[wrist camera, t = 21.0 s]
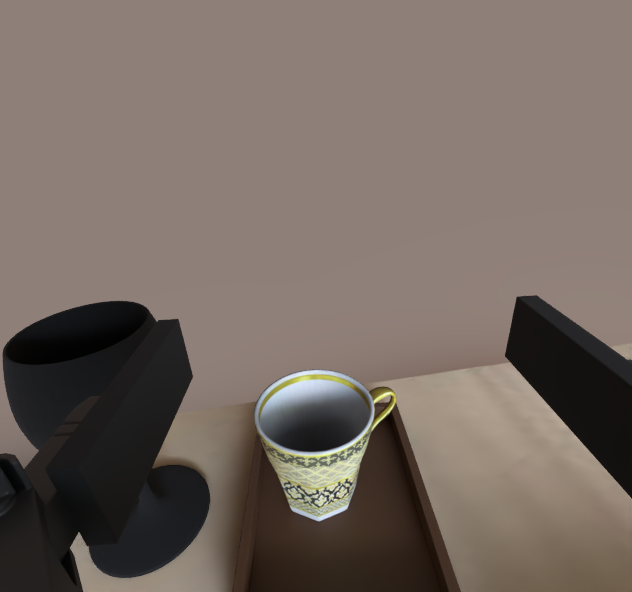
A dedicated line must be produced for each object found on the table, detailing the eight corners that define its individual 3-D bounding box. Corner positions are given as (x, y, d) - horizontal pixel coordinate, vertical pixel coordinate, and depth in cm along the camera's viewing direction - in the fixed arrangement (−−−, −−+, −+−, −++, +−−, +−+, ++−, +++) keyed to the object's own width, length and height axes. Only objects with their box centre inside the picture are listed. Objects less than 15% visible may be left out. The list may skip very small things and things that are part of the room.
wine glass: (109, 479, 37) (34, 306, 28) (212, 457, 38) (171, 288, 30) (69, 595, 27) (-61, 390, 19) (207, 559, 29) (145, 357, 21)
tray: (394, 420, 42) (395, 401, 41) (462, 632, 24) (467, 610, 23) (263, 428, 42) (260, 410, 41) (233, 647, 24) (226, 626, 23)
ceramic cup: (284, 563, 28) (271, 474, 24) (256, 464, 36) (242, 386, 32) (422, 500, 32) (432, 415, 28) (367, 424, 40) (369, 351, 36)
